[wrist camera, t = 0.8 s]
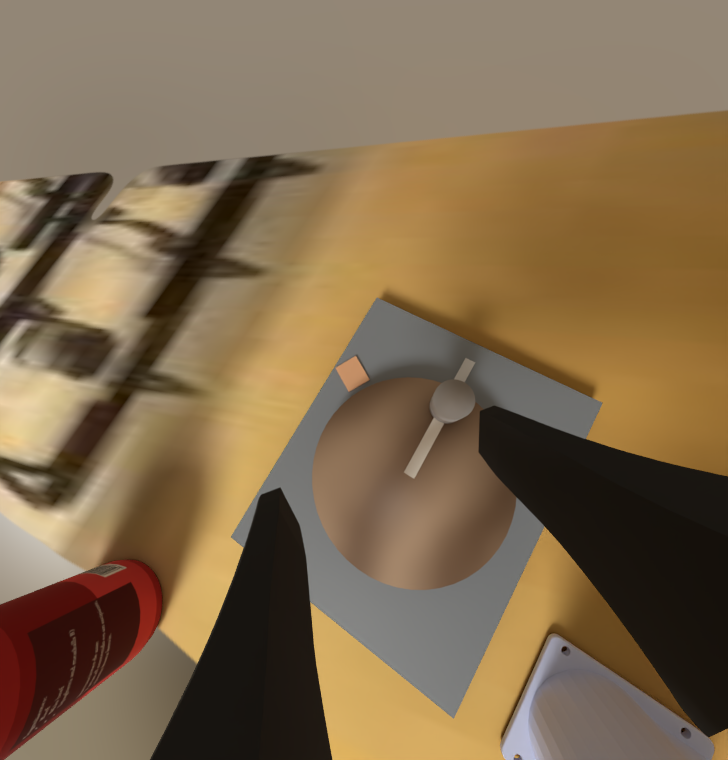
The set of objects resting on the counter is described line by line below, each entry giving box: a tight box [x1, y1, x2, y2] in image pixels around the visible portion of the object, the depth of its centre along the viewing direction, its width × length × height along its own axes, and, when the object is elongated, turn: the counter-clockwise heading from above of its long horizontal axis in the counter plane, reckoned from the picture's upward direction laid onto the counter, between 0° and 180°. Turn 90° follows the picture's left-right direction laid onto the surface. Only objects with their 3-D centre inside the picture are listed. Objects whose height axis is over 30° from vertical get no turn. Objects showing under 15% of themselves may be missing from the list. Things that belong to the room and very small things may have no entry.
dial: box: [312, 377, 516, 590], centre depth 19 cm, size 14×14×5 cm
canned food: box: [0, 560, 162, 760], centre depth 19 cm, size 8×8×11 cm
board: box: [231, 298, 602, 718], centre depth 22 cm, size 19×23×2 cm
